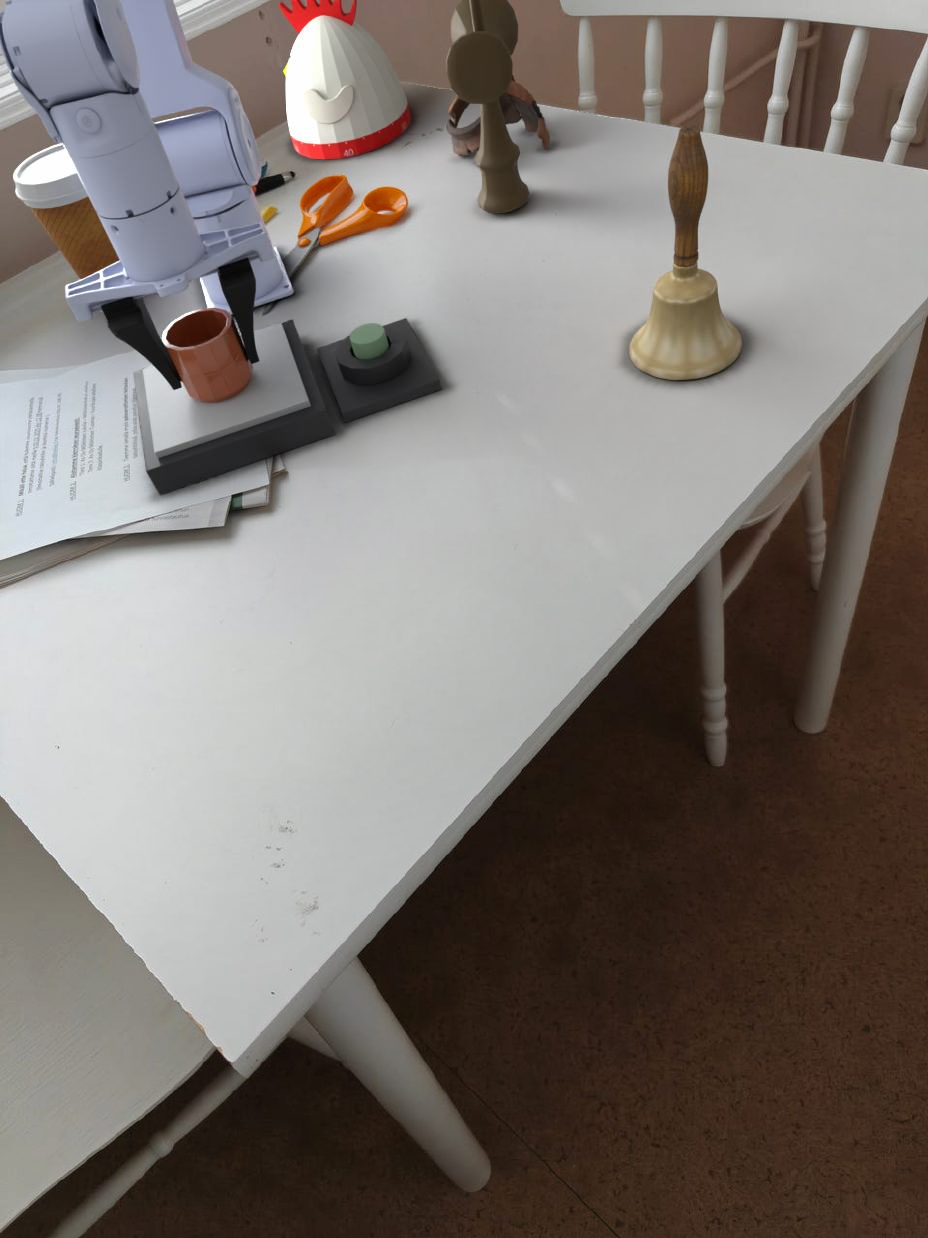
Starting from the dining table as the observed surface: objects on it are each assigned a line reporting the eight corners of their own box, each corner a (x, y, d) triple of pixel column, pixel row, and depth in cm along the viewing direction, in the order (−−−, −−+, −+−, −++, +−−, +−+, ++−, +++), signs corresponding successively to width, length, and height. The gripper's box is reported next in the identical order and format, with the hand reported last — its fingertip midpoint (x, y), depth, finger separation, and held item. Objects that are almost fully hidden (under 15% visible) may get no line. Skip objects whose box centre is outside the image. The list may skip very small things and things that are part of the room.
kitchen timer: (307, 112, 113) (266, -31, 101) (417, 96, 110) (387, -53, 99) (282, 166, 104) (234, 16, 93) (401, 149, 101) (366, -8, 90)
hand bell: (648, 311, 74) (643, 100, 62) (754, 321, 71) (770, 100, 59) (614, 374, 69) (601, 160, 57) (725, 388, 66) (735, 164, 54)
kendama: (536, 176, 92) (508, -64, 77) (534, 225, 86) (504, -25, 71) (476, 184, 93) (437, -51, 78) (471, 233, 87) (427, -11, 72)
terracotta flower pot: (184, 376, 74) (157, 322, 70) (250, 354, 75) (227, 299, 71) (191, 414, 71) (164, 358, 67) (260, 390, 71) (237, 334, 67)
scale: (145, 395, 79) (129, 365, 77) (301, 342, 80) (290, 312, 78) (159, 495, 70) (142, 465, 68) (335, 434, 71) (324, 402, 69)
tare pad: (319, 356, 78) (310, 331, 76) (408, 326, 79) (402, 300, 77) (344, 423, 72) (336, 396, 70) (442, 389, 72) (436, 362, 70)
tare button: (351, 346, 74) (346, 330, 73) (384, 335, 74) (379, 318, 73) (359, 364, 72) (353, 347, 71) (392, 353, 73) (388, 336, 71)
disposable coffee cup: (84, 319, 89) (17, 198, 80) (65, 280, 95) (0, 163, 86) (175, 280, 91) (119, 157, 82) (151, 245, 97) (96, 126, 88)
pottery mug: (558, 165, 93) (511, 105, 88) (483, 211, 99) (433, 157, 93) (555, 85, 98) (510, 23, 93) (483, 133, 104) (437, 78, 98)
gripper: (31, 258, 58) (127, 428, 68) (251, 187, 59) (314, 365, 69) (31, 212, 63) (122, 378, 73) (235, 147, 64) (296, 319, 74)
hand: (215, 369), depth 72 cm, fingers closed on terracotta flower pot, 6 cm apart
